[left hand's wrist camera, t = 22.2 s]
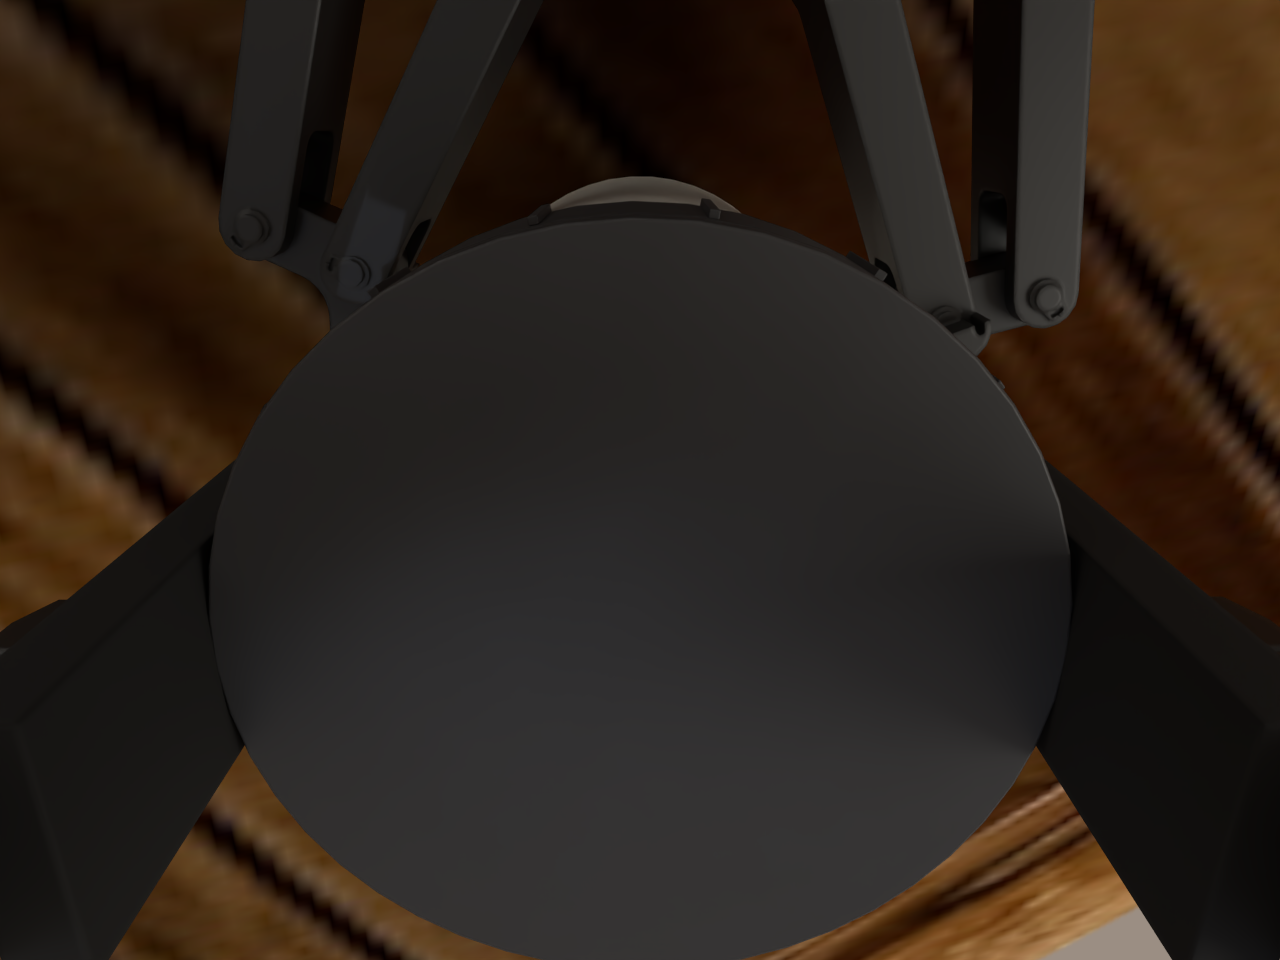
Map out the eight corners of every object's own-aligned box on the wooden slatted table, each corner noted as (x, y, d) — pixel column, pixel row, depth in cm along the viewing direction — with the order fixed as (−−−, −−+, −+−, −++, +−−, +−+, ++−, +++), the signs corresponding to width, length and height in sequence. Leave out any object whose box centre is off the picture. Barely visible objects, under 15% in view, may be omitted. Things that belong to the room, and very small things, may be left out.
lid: (237, 793, 13) (174, 899, 11) (311, 93, 10) (235, 87, 8) (863, 912, 14) (895, 1028, 12) (1136, 309, 11) (1238, 348, 9)
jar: (704, 529, 27) (773, 974, 13) (436, 406, 26) (188, 755, 12) (855, 269, 24) (1156, 474, 10) (563, 114, 23) (440, 101, 9)
